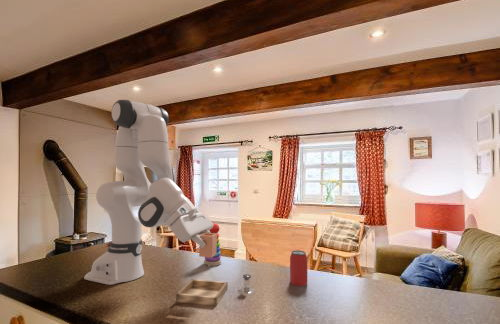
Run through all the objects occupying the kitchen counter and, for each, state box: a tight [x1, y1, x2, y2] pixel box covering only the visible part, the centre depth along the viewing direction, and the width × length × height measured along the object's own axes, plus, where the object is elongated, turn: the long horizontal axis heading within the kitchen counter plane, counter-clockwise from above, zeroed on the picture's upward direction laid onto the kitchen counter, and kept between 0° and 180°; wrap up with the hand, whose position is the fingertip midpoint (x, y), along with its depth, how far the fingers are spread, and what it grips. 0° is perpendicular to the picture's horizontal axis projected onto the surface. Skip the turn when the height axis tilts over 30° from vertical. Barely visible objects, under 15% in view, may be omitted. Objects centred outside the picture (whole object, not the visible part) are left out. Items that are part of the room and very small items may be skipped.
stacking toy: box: [203, 222, 222, 267], centre depth 124 cm, size 8×8×19 cm
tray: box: [175, 278, 229, 307], centre depth 90 cm, size 14×13×3 cm
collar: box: [198, 233, 217, 258], centre depth 91 cm, size 5×5×7 cm
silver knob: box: [237, 273, 257, 297], centre depth 93 cm, size 6×6×6 cm
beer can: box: [289, 249, 308, 287], centre depth 101 cm, size 7×7×12 cm
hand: (208, 243), depth 91 cm, fingers closed on collar, 5 cm apart
